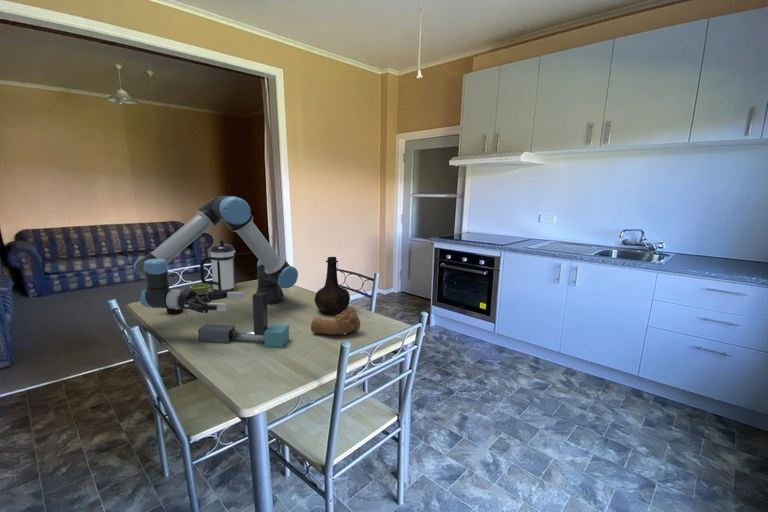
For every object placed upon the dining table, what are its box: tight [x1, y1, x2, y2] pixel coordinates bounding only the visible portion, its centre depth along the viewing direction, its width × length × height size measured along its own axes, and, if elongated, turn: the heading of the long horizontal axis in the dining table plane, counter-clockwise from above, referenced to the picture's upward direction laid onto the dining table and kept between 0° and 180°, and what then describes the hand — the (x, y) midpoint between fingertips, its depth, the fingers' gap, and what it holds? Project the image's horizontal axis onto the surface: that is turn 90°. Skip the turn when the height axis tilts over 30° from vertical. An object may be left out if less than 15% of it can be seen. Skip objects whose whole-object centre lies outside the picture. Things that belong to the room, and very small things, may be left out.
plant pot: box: [189, 283, 211, 295], centre depth 182 cm, size 9×9×9 cm
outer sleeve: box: [197, 323, 237, 344], centre depth 139 cm, size 12×6×5 cm, turn 87°
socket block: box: [263, 324, 290, 348], centre depth 137 cm, size 7×8×6 cm
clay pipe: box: [310, 307, 361, 336], centre depth 149 cm, size 19×11×15 cm
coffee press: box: [199, 239, 238, 292], centre depth 200 cm, size 17×16×30 cm
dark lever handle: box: [229, 291, 269, 341], centre depth 136 cm, size 19×4×19 cm, turn 87°
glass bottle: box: [314, 256, 351, 314], centre depth 173 cm, size 18×18×28 cm
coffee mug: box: [165, 308, 184, 315], centre depth 166 cm, size 12×9×10 cm
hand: (235, 301), depth 135 cm, fingers open, 13 cm apart
